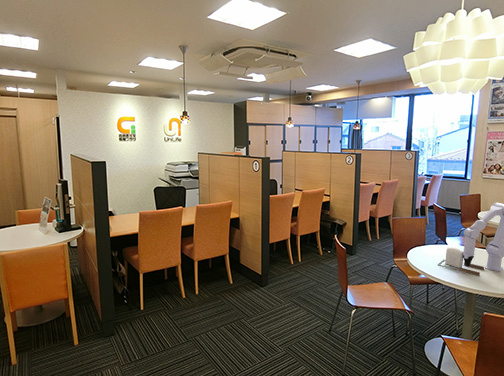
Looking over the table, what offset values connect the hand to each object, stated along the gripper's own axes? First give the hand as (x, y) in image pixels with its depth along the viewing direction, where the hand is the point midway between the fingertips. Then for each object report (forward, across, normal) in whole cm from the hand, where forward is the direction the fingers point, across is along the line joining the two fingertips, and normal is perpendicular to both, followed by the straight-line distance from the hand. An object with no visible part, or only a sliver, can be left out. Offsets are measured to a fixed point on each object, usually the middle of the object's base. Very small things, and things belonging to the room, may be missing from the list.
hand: (467, 266), depth 203 cm
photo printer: (+2, 0, -8) cm, 8 cm away
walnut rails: (+2, 0, +2) cm, 3 cm away
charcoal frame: (+2, 0, -10) cm, 10 cm away
